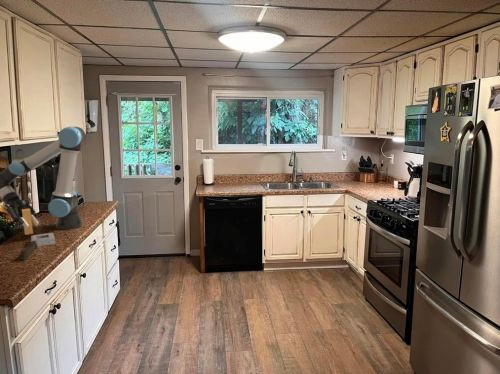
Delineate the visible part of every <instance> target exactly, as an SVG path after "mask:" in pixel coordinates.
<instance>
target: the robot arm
mask: <svg viewBox="0 0 500 374" xmlns="http://www.w3.org/2000/svg"><path fill="white" fill-rule="evenodd" d="M86 138H87V137H86V131H84V130H83V128H81V127H79V126H66V127H64V128H62V129H61V130H60V131H59V133H58V139H57V140H55V141H54V142H52V143H50V144H49V145H47V146H45V147H44V148H42V149H40V150H38V151H37V152H34V153H33V154H32V155H30V156H28V157H27V158H25V159H23V160H22V161H20V162H19V161H12V162H11V163H10V164H9V165H8V166H7V167H6V168H5V169H3V170H2V171H1V172H0V198H1V199H2V201H3V202H4V203H5V204H4V206H3V209H4V210H5V211H6V212H7V213H8V215H9V216H10V217H11V219H12V221H16V222H19V223H20V224H21V225H22V226H23V228H24V227H25V229H27V228H28V226H29V225H28V224H27V222H26V221H25V220H24V219H23V216H22V217H21V214H20V212H19V210H20V211H22V209H30V212H31V220H32V224H33V225H34V226H35V227H37V226H38V225H39V223H40V222H39V221H38V219H37V216H36V215H35V214H36V211H35V209H34V208H33V207H32V206H31V204H29V201H28V200H27V199H26V200H22V199H20V196H19V195H18V193H17V192H16V190H14V189H13V187H12V186H11V183H12V182H13V181H15V179H17V178H19V177H22V176H25V175H27V174H29V173H30V172H31V171H33V170H35V169H36V168H38V167H40V166H42V165H44V163H47V162H48V161H50V160H51V159H54V158H55V157H56V156H58V155H60V158H59V165H58V172H57V179H56V184H55V190H54V191H53V192H52V193H51V199H50V201H49V203H48V206H47V208H48V209H47V210H48V212H49V213H50V215H51V216H53V217H55V218H57V220H56V224H55V226H56V229H57V230H73V229H78V228H81V227H82V226H83V221H82V218H81V217H80V216H81V215H79V205H78V193H77V192H76V191H75V190H73V183H74V177H75V172H76V171H75V170H76V166H77V165H76V164H77V158H78V154H79V153H80V152H81V150H82V146H83V144H84V143H85V141H86V140H87V139H86Z"/></svg>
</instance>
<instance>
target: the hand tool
mask: <svg viewBox="0 0 500 374" xmlns="http://www.w3.org/2000/svg"><path fill="white" fill-rule="evenodd" d="M37 248H38V246H37V244H36V243H35V242H28V244H27V246H25V248H24V249H22V250H21V253H20V255H21V256H20V257H21V261H26V260H27V259H29V256H30V254H32V253H33V251H34V250H36V249H37Z"/></svg>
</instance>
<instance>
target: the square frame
mask: <svg viewBox="0 0 500 374" xmlns="http://www.w3.org/2000/svg"><path fill="white" fill-rule="evenodd" d="M30 240H31V242H35V243H36V244H37V247H43V246H49V245H55V244H56V236H55V235H54V232H49V233H48V232H47V233H42V234H41V233H40V234H34V235H33V234H32V235H30ZM31 242H30V243H31Z"/></svg>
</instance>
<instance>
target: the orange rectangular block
mask: <svg viewBox="0 0 500 374" xmlns="http://www.w3.org/2000/svg"><path fill="white" fill-rule="evenodd" d="M21 214H22V217H23V219H24V220H25V221H26V222H27V224H28V225H29V226H28V228H27V229H25V227H24V226H23V231H24V235H31V234H32V235H33V234H34V230H33V228H34V227H33V222H32V220H31V212H30V209H22V210H21Z"/></svg>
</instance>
